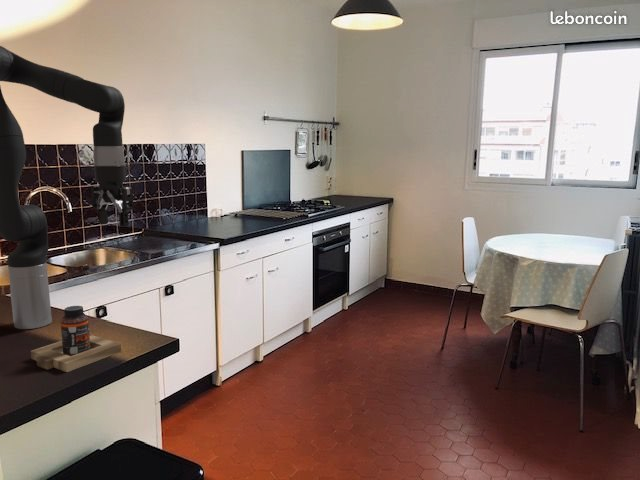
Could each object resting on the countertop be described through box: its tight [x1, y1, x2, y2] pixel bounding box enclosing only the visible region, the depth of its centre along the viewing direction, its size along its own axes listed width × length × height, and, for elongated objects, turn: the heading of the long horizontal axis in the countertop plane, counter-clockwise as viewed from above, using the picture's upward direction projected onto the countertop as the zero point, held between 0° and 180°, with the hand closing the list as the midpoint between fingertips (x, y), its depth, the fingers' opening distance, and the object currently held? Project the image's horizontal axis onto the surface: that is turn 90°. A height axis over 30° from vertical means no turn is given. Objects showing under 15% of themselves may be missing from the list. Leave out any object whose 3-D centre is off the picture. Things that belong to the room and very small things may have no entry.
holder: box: [30, 333, 122, 373], centre depth 123 cm, size 14×16×2 cm
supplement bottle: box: [60, 305, 91, 356], centre depth 123 cm, size 6×6×11 cm
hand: (113, 225), depth 139 cm, fingers open, 8 cm apart
